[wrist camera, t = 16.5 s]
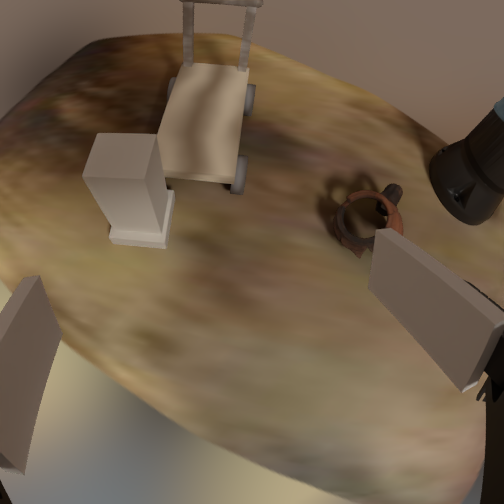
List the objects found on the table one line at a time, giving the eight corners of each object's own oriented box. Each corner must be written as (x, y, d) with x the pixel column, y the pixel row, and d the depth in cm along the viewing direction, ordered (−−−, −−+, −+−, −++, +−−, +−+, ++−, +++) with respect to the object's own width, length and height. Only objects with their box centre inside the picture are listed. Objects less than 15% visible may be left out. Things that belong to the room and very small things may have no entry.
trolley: (252, 97, 49) (272, -3, 31) (241, 205, 42) (264, 94, 24) (176, 90, 47) (172, -11, 29) (145, 195, 40) (113, 84, 22)
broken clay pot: (384, 282, 41) (383, 263, 34) (327, 253, 46) (314, 229, 39) (419, 211, 42) (422, 180, 35) (364, 187, 47) (357, 155, 40)
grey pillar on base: (175, 198, 41) (163, 126, 28) (166, 248, 39) (147, 190, 25) (124, 194, 40) (96, 125, 27) (113, 243, 38) (73, 186, 25)
